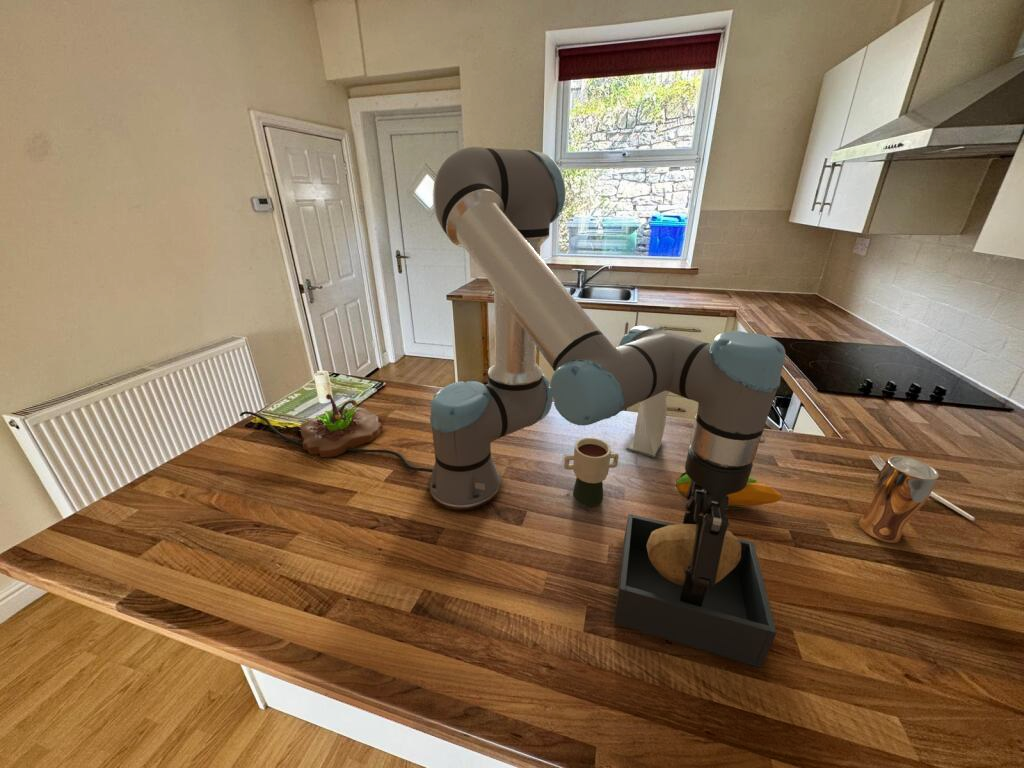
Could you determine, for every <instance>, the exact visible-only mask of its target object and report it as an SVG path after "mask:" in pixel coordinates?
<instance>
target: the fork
mask: <svg viewBox="0 0 1024 768" xmlns="http://www.w3.org/2000/svg"><path fill="white" fill-rule="evenodd" d="M869 458H870V460H871V461H872V463H873V464H874V466H875V467H876V468H877V469H878V471H880V472H881V470H882V468H883V467H884V465H885V464H886V462H885V460H883V459H882V458H881V456H880V455H879V454H878V453H877V454H874V455H873V454H872V455H869ZM929 497H932V498H933V499H935V500H937V501H938V502H940V503H942V504H944V505H945V506H947V507H948V508H950V509H952V510H953V511H955V512H957V513H959V515H962V516H963V517H964V518H967V519H968V520H970V521H972V522H974V521H976V518H975V517H974V516H972V515H970V513H968V512H967V511H965V510H963V509H961V508H960V507H958V506H956V505H955V504H953V503H951V502H950V501H948V500H947V499H945V498H944V497H942V496H940V495H939V494H937V493H935V492H933V491H932V492H931V494H930V496H929Z"/></svg>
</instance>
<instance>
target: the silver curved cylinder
mask: <svg viewBox="0 0 1024 768" xmlns="http://www.w3.org/2000/svg"><path fill="white" fill-rule="evenodd" d="M885 463H886V464H885V465H884V467H883V468H882V470H881V471H880V472H879V473H878V475H877V476H876V477H877V478H876V479H875V482H874V485H873V489H872V495H871V500H870V504H869V507H868V510H867V511H866V512H865V514H863V515H862V517H861V518H860V519H859V521H858V525H859V527H860V529H861V530H862V531H863V532H864V533H866V534H867V535H868V536H870V537H872V538H874V539H876V540H878V541H881V542H884V543H890V544H895V543H896V544H897V543H898V542H900V541H901V538H902V534H903V530H904V527H905V526H906V525H907V523H908V521H909V520H910V519H911V518H912V517H913V516H914V515H915V514H917V512H918V511H919V510H921V508H922V507H923V506H924V504H925V503H926V502H927V500H928V499H929V497H931V496H930V494H931V492H933V490H934V488H935V485H936V483H937V480H938V478H939V477H940V475H939V472H938V471H937V470H936V469H935V468H934V467H933V466H930V465H929V464H927V463H925V462H923V461H921V460H918V459H916V458H913V457H909V456H904V455H892V456H889V457H888V459H887V461H886V462H885Z"/></svg>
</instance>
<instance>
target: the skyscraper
mask: <svg viewBox="0 0 1024 768" xmlns="http://www.w3.org/2000/svg"><path fill="white" fill-rule="evenodd" d="M669 393H670V392H669V391H663V392H661V393H659V394H657V395H655V396H652V397H650V398H648V399H646V400H644V401H641V402H639V407H638V409H637V410H638V411H637V417H636V422H635V428H634V434H633V436H632V438H631V440H630V441H629V443H628V444H627V446H626V447H625V449H626V450H629V451H632V452H634V453H639V454H640V455H643V456H647V457H651V458H654V459H655V458H656V455H657V454H658V452H659V450H660V448H661V446H662V444H663V437H664V433H665V428H666V422H667V413H668V403H667V402H668V401H667V399H668V395H669Z"/></svg>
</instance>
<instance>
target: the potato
mask: <svg viewBox="0 0 1024 768" xmlns="http://www.w3.org/2000/svg"><path fill="white" fill-rule="evenodd" d="M675 524H676V525H668V526H665V527H662V528H659V529H656V530H654V531H653V532H652V533H651V535H650V537H649V539H648V542H647V545H646V546H647V551H648V556H649V559H650V561H651V563H652V565H653V566H654V567H655V569H656V570H657V571H658V572H659V574H660V575H661V576H663V577H664V578H666V579H667V580H669V581H670V582H672V583H675V584H678V585H681V586H683V585H684V581H685V578H686V574H685V572H684V570H685V568H688V566H691V563H692V556H693V548H694V541H695V534H696V526H697V524H683V523H675ZM736 538H737V537H736V536H735V535H734V534H733V533H732V532H731V531H730V530H728V529H727V530H726V533H725V536H724V541H723V546H722V551H721V556H720V561H719V566H718V571H717V576H716V581H715V584H716V583H718V582H719V581H720V580H722V579H723V578H724V577H725V576H726V575H727V574H728V573H729V572H730V571H732V570H733V569H734V568H735V567H736V565H737V564H738V562H739V561H740V559H741V543H740V542H739V541H738V540H737V539H736Z"/></svg>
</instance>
